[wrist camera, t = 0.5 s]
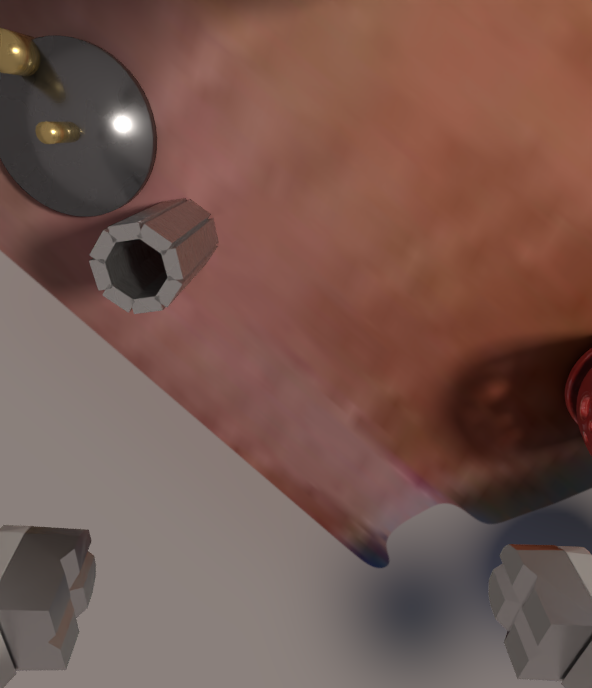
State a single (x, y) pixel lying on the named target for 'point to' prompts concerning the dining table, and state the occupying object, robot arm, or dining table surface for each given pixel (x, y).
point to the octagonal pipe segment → (153, 255)
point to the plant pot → (581, 396)
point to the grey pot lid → (73, 124)
